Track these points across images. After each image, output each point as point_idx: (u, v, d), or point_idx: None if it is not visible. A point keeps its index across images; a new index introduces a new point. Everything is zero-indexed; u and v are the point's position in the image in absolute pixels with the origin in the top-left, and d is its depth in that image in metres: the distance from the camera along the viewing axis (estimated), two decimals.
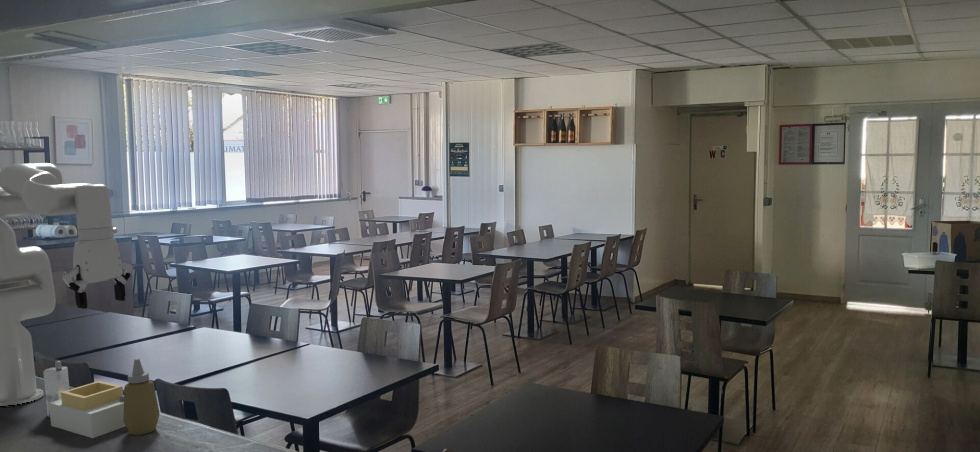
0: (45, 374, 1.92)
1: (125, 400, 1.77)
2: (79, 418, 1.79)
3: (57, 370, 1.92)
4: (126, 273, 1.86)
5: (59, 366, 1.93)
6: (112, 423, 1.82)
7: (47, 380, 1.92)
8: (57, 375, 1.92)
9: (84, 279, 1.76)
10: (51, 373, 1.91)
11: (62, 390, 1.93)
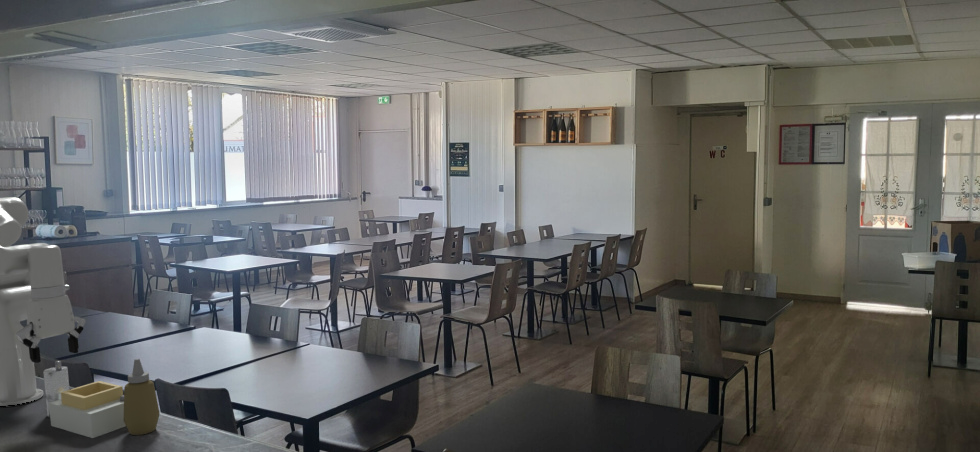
0: (45, 374, 1.92)
1: (125, 400, 1.77)
2: (79, 418, 1.79)
3: (57, 370, 1.92)
4: (79, 327, 1.98)
5: (59, 366, 1.93)
6: (112, 423, 1.82)
7: (47, 380, 1.92)
8: (57, 375, 1.92)
9: (37, 335, 1.88)
10: (51, 373, 1.91)
11: (62, 390, 1.93)
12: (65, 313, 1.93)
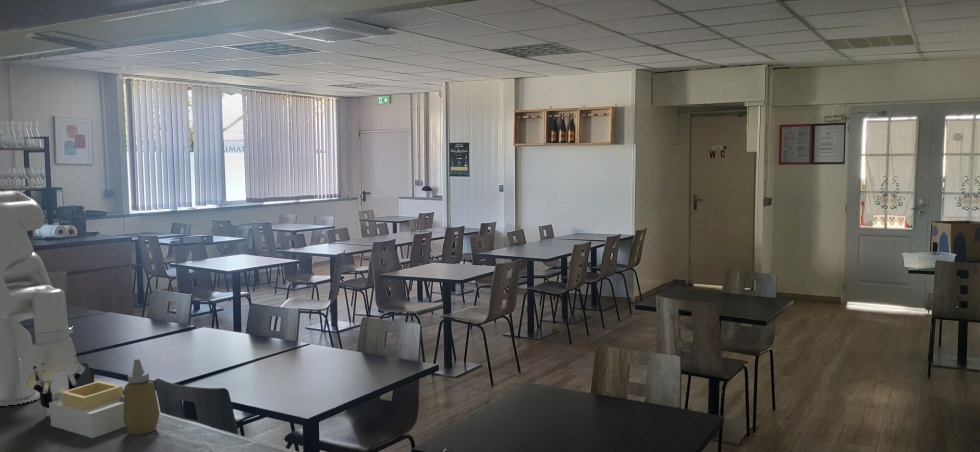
0: None
1: (125, 400, 1.77)
2: (79, 418, 1.79)
3: None
4: (76, 374, 1.98)
5: None
6: (112, 423, 1.82)
7: None
8: (57, 375, 1.92)
9: (40, 379, 1.89)
10: None
11: (62, 390, 1.93)
12: (68, 356, 1.94)
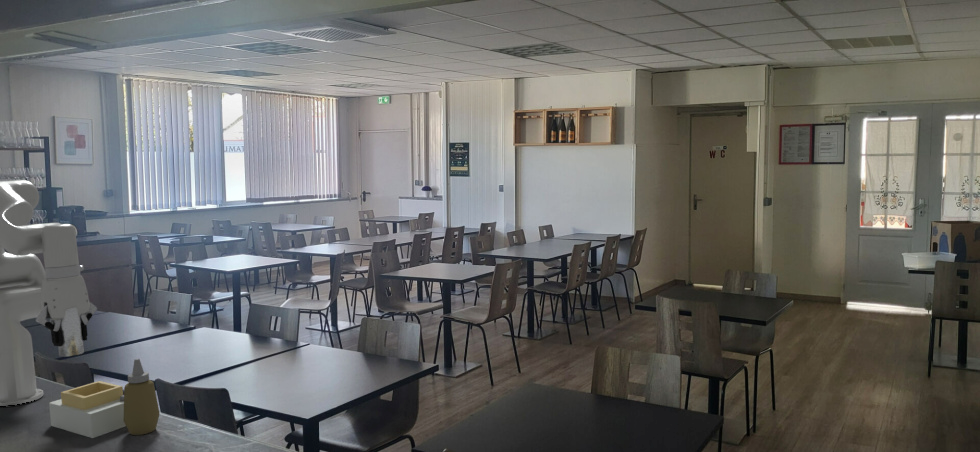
0: None
1: (125, 400, 1.77)
2: (79, 418, 1.79)
3: None
4: (88, 313, 1.92)
5: None
6: (112, 423, 1.82)
7: None
8: (68, 312, 1.86)
9: (52, 316, 1.83)
10: None
11: (73, 328, 1.87)
12: (80, 294, 1.89)
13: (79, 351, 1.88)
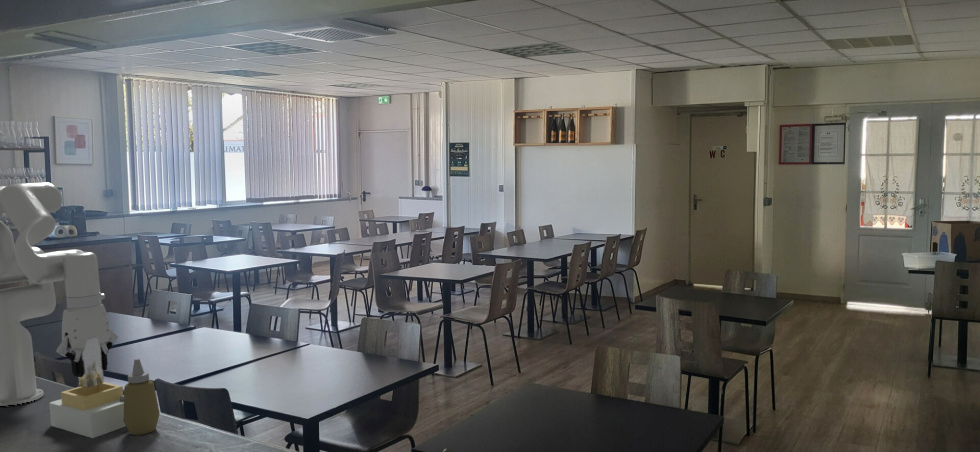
0: None
1: (125, 400, 1.77)
2: (79, 418, 1.79)
3: None
4: (108, 342, 1.89)
5: None
6: (112, 423, 1.82)
7: None
8: (89, 342, 1.83)
9: (72, 346, 1.80)
10: None
11: (94, 358, 1.83)
12: (101, 323, 1.85)
13: (99, 382, 1.85)
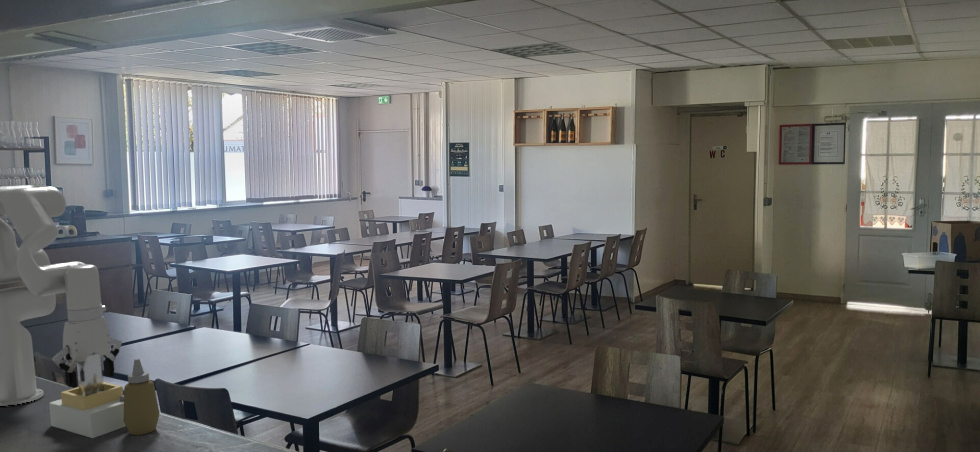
0: None
1: (125, 400, 1.77)
2: (79, 418, 1.79)
3: None
4: (115, 349, 1.91)
5: None
6: (112, 423, 1.82)
7: (80, 365, 1.83)
8: (91, 359, 1.83)
9: (73, 359, 1.80)
10: None
11: (95, 375, 1.84)
12: (102, 335, 1.86)
13: None
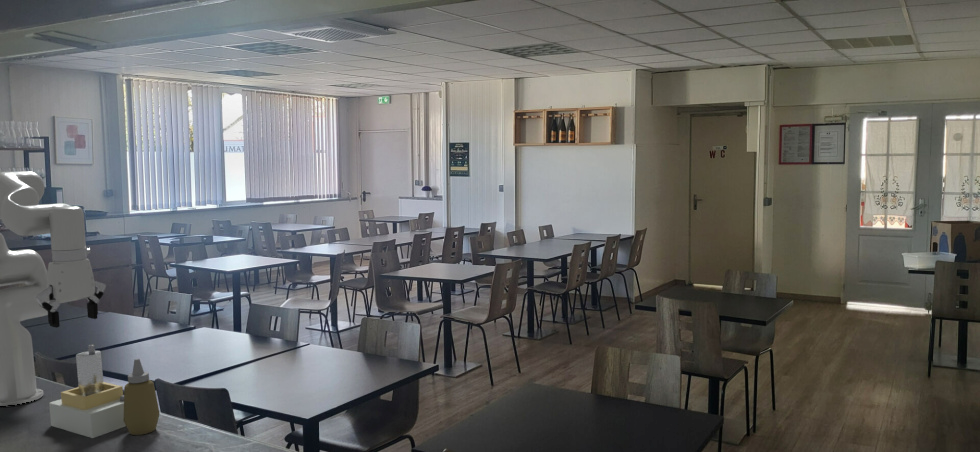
0: (78, 358, 1.83)
1: (125, 400, 1.77)
2: (79, 418, 1.79)
3: (90, 354, 1.83)
4: (99, 292, 1.92)
5: (92, 350, 1.84)
6: (112, 423, 1.82)
7: (80, 365, 1.83)
8: (90, 359, 1.83)
9: (57, 299, 1.81)
10: (84, 357, 1.82)
11: (95, 375, 1.84)
12: (86, 277, 1.86)
13: None
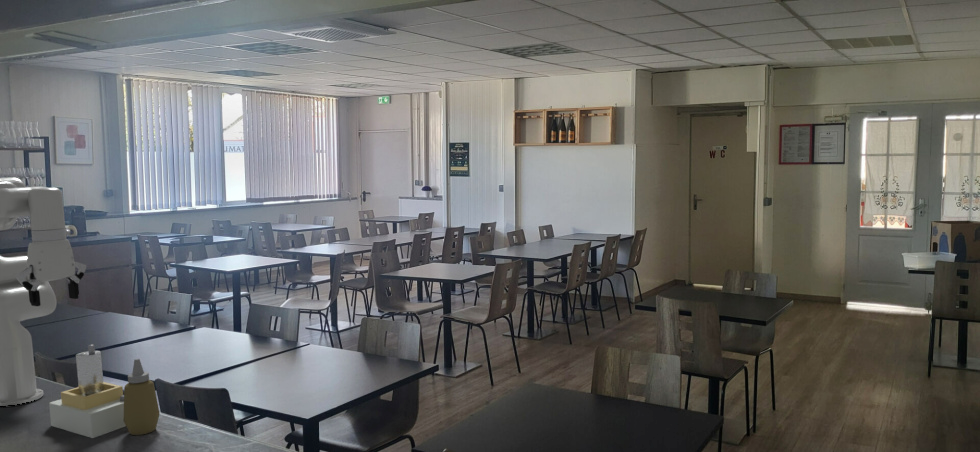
0: (78, 358, 1.83)
1: (125, 400, 1.77)
2: (79, 418, 1.79)
3: (90, 354, 1.83)
4: (80, 272, 1.95)
5: (92, 350, 1.84)
6: (112, 423, 1.82)
7: (80, 365, 1.83)
8: (90, 359, 1.83)
9: (37, 278, 1.85)
10: (84, 357, 1.82)
11: (95, 375, 1.84)
12: (66, 257, 1.90)
13: None
